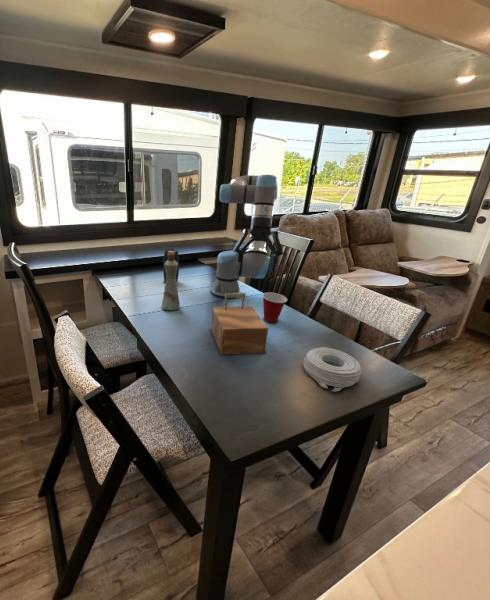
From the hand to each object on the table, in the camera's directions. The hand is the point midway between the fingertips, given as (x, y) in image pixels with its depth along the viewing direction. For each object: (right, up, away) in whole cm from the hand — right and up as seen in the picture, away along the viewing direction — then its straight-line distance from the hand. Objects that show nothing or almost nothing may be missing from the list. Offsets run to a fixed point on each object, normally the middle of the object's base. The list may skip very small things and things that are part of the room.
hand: (255, 271), depth 126 cm
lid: (-8, -19, -5) cm, 21 cm away
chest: (-8, -28, -2) cm, 29 cm away
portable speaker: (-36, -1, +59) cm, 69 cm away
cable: (+20, -37, -21) cm, 47 cm away
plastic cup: (+11, -21, +16) cm, 29 cm away
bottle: (-35, -16, +26) cm, 47 cm away
